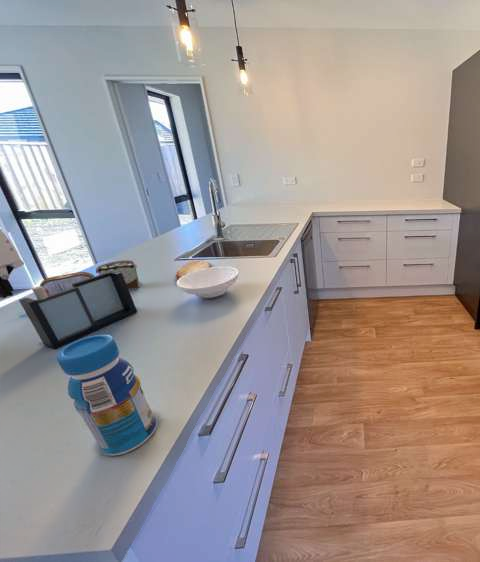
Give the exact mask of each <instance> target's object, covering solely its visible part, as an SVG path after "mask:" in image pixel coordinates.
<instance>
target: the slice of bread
mask: <svg viewBox="0 0 480 562" xmlns="http://www.w3.org/2000/svg"><path fill="white" fill-rule="evenodd" d="M211 267H212V266H211V264H210V263H209V262H208V261H204V260H190V261H188V262H187V263H185V264H183V265H181V266H180V267H179V269H178V270H177V271H176V274H175V278H176V281H178V280H179V279H180V278H181V277H182V276H184V275H186V274H188V273H191V272H194V271H197V270H201V269H205V268H211Z"/></svg>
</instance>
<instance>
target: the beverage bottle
mask: <svg viewBox="0 0 480 562" xmlns="http://www.w3.org/2000/svg"><path fill="white" fill-rule="evenodd" d="M56 360H57V363H58V364H59V366H60V368H61V370H62V372H63V373H64V374H65V375H66V376H68V377H69V379H68V383H67V384H68V385H67V394H68V397H69V398H70V399H72V400H74V401H73V406H74V408H75V411H76V412H77V413H78V414H79V415H80V417H81V418H82V420H83V422H84V423H85V425H86V426H87V428H88V430H89V432H90V433H91V435H92V436H93V438H94V440H95V441H96V444H97V446H98V447H99V449H100V451H101V452H102V453H103V454H104V455H106V456H121V455H125V454H127V453H129V452H132V451H134V450H136V449H137V448H139V447H140V446H142V445H143V444H144V443H146V442H147V441H148V439H150V438H151V437H152V436H153V434H154V433H155V431H156V429H157V424H158V423H157V419H156V417H155V415H154V413H153V411H152V409H151V407H150V404H149V402H148V399H147V397H146V394H145V392H144V390H143V388H142V385H141V381H140V378H139V377H138V375H137V374H136V373H135V372H134V371H135V370H134V367H133V366H132V364H131V363H130V362H129V361H127V360H125V359H124V358H122V357H120V350H119V348H118V344H117V343H116V341H115V339H114V337H113V336H111V335H109V334H96V335H95V334H94V335H90V336H87V337H86V336H85V337H82V338H79V339H77V340H75V341H73V342H70V343H68V344H66V345H65V346H64V347H63V348H61V349H60V350H59V351H58V352H57V354H56Z"/></svg>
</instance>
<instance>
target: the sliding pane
mask: <svg viewBox="0 0 480 562" xmlns="http://www.w3.org/2000/svg"><path fill="white" fill-rule="evenodd" d="M31 291H32V292H33V294H34V296H35V298H36V299H35V300H36V301H37V302H38V304H39V306H40V308H41V309H42V311H43V313H44V315H45V317H46V319H47V320H48V322H49V324H50V326H51V328H52V330H53V331H54V333H55V335H56V337H57V339H61V338H63V337H65V336H68V335H70V334H72V333H74V332H77V331H79V330H81V329H84V328H86V327H88V326H91V325H94V324H95V322H94V320H93V318H92V316H91V314H90V311H89V309H88V307H87V305H86V303H85V301H84V299H83V297H82V294H81V292H80V290H79V288H78V287H74V288H71V289H68V290H65V291H62V292H59V293H56V294H53V295H50V296H47V295H46V293H45V291H44V289H43V288H42V287H41V286H40V285H39V286H35V287H33V288H31Z"/></svg>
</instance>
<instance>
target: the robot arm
mask: <svg viewBox="0 0 480 562" xmlns="http://www.w3.org/2000/svg"><path fill="white" fill-rule="evenodd" d="M24 264H25V262H24V260H22V259H21V256H20V254H19V252H18V250H17V249H16V247H15V246H14V244H13V243H12V241H11V239H10V238H9V237H8V235H7V234H6V233H5V231H4V230H3V229H2V227H0V298H2V299H5V298H7V297H12V296H14V293H13V291H14V287H13V285H12V284H11V282H10V281H9V278H10V275H11V273H12V272H13V270H15V269H18V268H19V267H22V266H24Z"/></svg>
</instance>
